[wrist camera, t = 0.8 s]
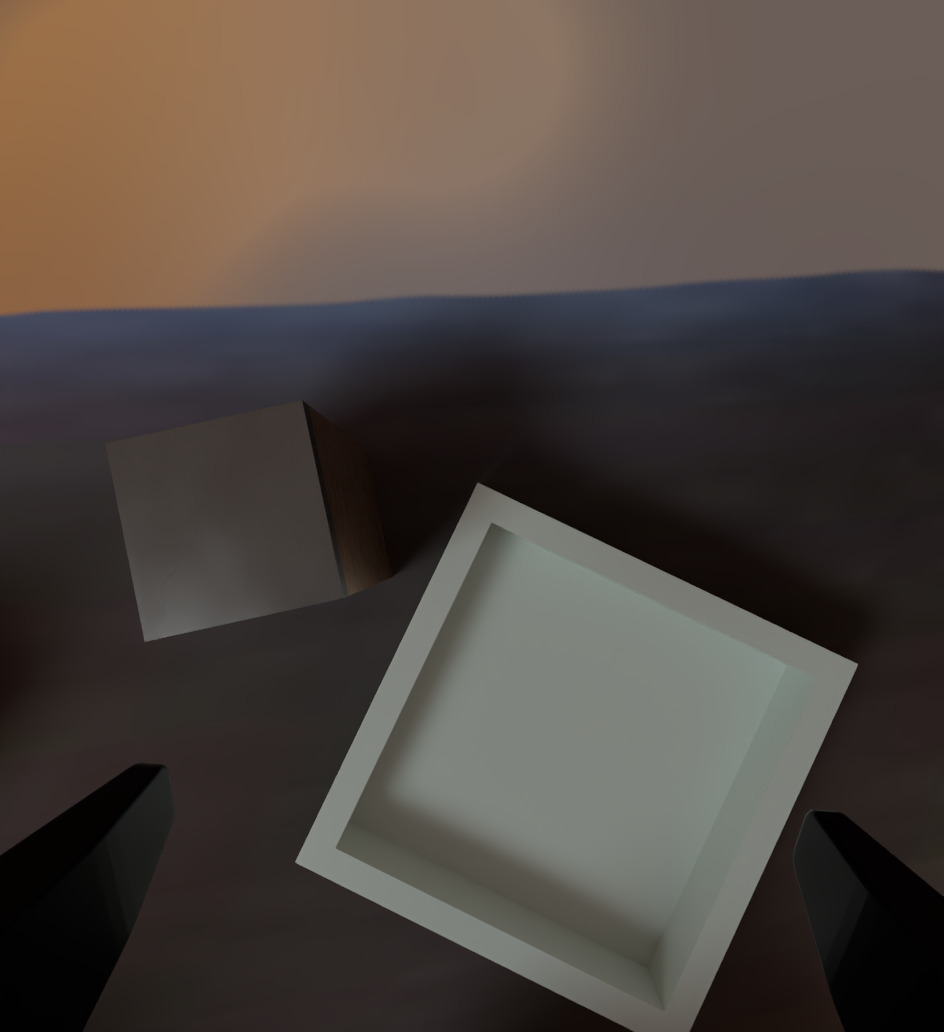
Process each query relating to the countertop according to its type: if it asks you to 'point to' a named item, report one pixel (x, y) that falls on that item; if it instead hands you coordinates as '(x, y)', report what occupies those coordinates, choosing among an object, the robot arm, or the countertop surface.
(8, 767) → the countertop surface
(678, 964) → the tray
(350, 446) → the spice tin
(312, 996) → the countertop surface
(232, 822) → the countertop surface
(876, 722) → the countertop surface
